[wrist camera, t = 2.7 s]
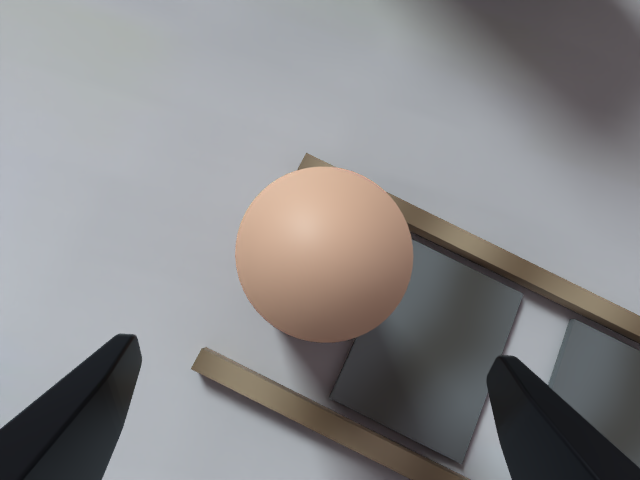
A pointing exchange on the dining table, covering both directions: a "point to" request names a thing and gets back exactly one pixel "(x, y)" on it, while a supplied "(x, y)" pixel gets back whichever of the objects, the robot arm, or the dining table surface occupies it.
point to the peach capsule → (324, 254)
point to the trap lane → (456, 356)
